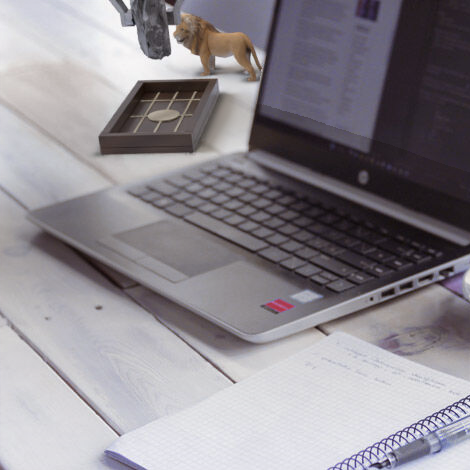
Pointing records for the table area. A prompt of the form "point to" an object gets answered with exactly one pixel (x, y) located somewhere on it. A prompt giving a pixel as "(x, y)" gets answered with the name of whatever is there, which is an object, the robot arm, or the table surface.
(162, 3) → the stone
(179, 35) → the lion figurine
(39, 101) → the table surface
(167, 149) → the board
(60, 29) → the table surface
